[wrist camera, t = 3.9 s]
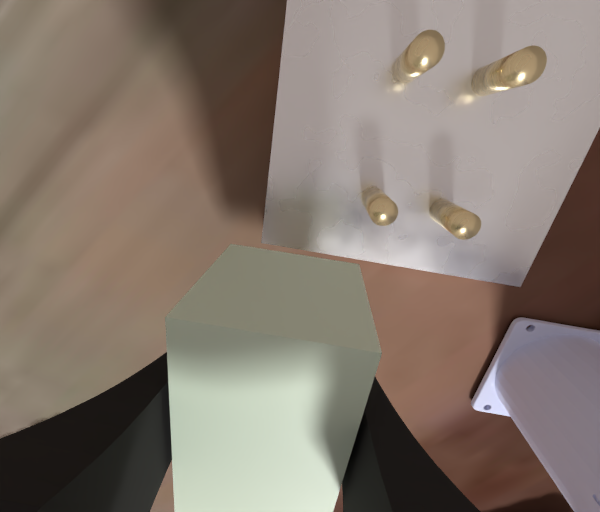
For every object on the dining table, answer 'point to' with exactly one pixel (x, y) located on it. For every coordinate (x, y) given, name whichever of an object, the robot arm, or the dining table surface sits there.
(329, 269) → the block
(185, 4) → the dining table surface
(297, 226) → the base plate
